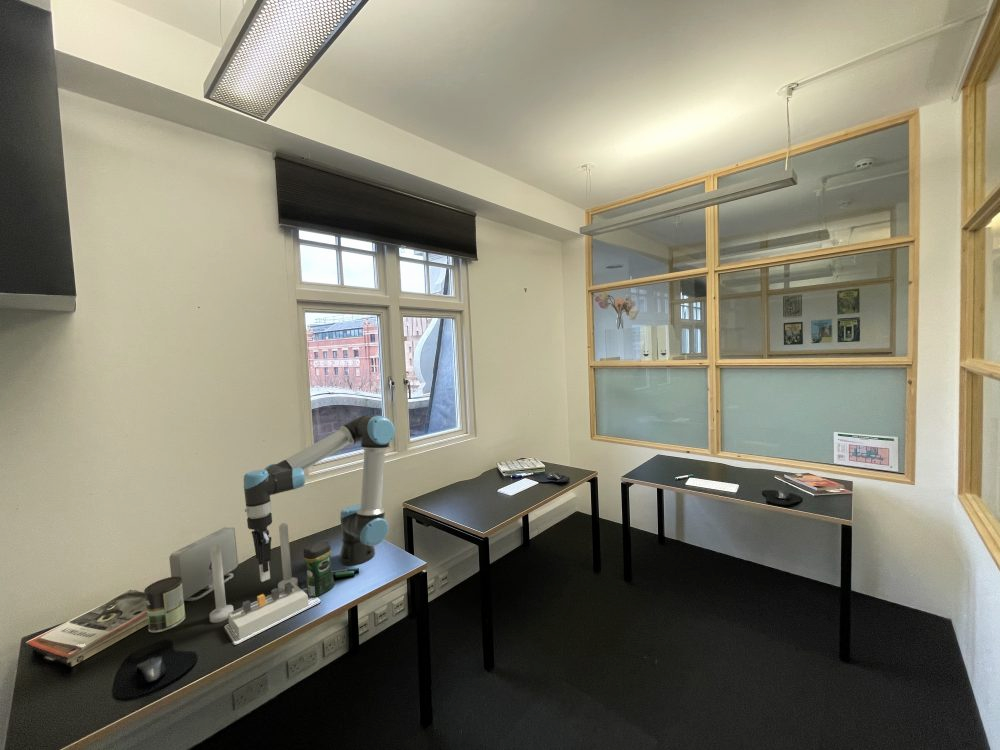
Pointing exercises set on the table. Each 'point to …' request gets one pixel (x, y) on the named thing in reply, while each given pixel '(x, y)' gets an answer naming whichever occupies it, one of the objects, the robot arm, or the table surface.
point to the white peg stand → (218, 587)
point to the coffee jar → (318, 568)
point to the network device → (203, 562)
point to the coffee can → (164, 604)
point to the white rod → (285, 558)
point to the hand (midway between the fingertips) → (265, 579)
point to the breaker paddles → (262, 601)
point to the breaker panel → (267, 612)
